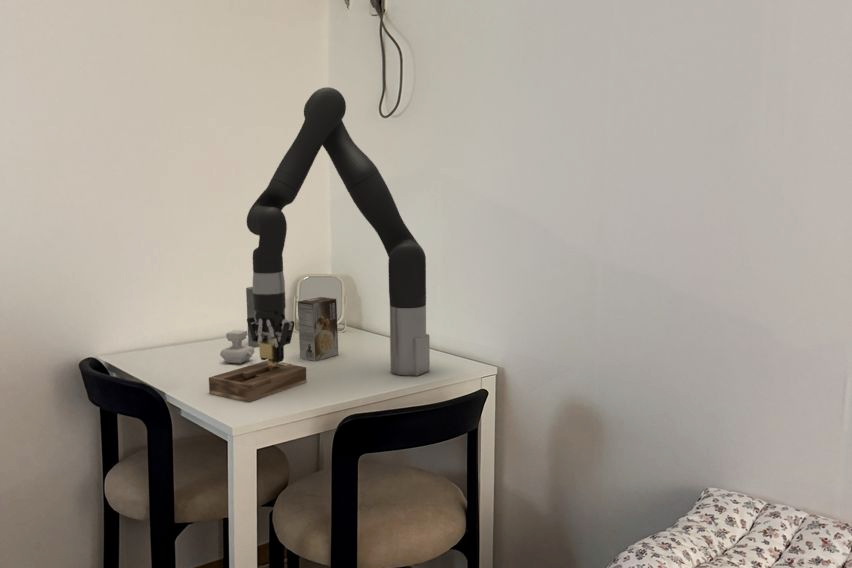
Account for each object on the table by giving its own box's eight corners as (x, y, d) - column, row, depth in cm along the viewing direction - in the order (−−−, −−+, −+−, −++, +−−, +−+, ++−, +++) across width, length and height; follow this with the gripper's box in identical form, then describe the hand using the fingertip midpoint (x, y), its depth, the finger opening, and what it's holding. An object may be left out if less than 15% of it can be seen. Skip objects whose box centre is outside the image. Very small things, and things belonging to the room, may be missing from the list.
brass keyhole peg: (285, 377, 186) (284, 341, 185) (272, 381, 182) (271, 345, 181) (272, 375, 188) (270, 339, 187) (259, 379, 185) (258, 343, 183)
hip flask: (279, 336, 238) (277, 272, 235) (290, 337, 237) (288, 273, 234) (246, 347, 224) (243, 279, 221) (257, 348, 223) (254, 280, 220)
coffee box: (322, 352, 218) (321, 296, 215) (338, 355, 214) (337, 298, 211) (298, 358, 210) (297, 300, 208) (315, 361, 207) (313, 303, 204)
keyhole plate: (306, 382, 186) (306, 366, 186) (249, 402, 171) (248, 384, 170) (267, 374, 193) (267, 359, 193) (209, 393, 178) (208, 376, 177)
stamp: (216, 363, 205) (215, 333, 204) (230, 358, 211) (229, 328, 210) (245, 366, 202) (244, 335, 201) (258, 360, 208) (257, 330, 207)
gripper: (302, 290, 181) (304, 360, 184) (258, 286, 189) (261, 353, 192) (280, 295, 175) (282, 367, 178) (236, 290, 183) (239, 360, 185)
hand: (271, 360), depth 185 cm, fingers closed on brass keyhole peg, 4 cm apart
